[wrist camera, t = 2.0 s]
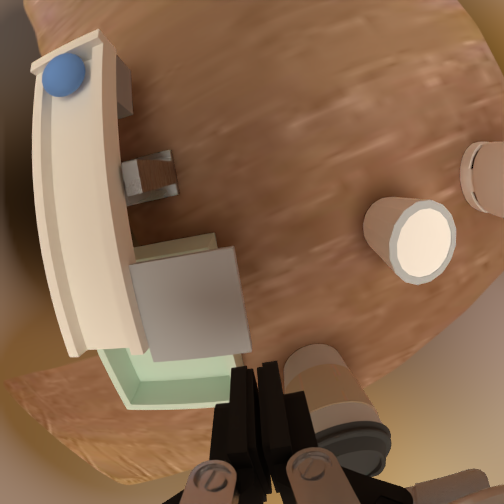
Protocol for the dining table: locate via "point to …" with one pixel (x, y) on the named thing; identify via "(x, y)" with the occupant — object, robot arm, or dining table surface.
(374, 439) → the coffee cup
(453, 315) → the dining table surface
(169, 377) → the bin
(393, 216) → the shot glass
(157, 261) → the lever
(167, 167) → the lever stand
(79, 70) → the ball
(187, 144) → the dining table surface
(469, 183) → the bottle
